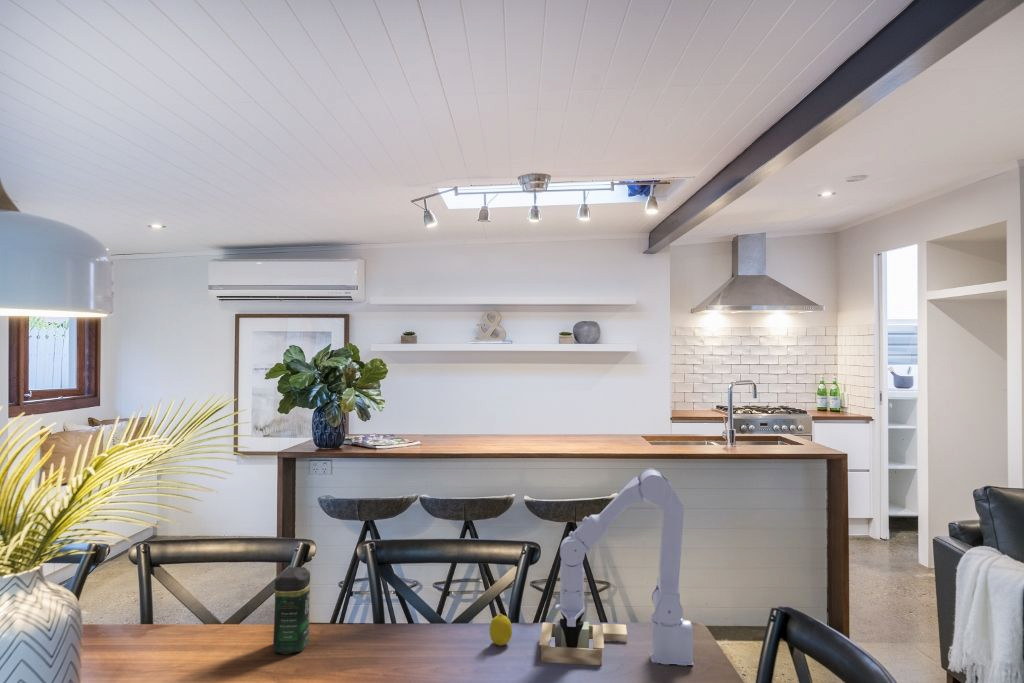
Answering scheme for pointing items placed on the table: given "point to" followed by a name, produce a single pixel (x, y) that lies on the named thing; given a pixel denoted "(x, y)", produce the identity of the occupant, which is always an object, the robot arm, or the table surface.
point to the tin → (582, 640)
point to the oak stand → (614, 632)
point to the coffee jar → (291, 610)
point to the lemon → (500, 630)
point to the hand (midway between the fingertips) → (572, 644)
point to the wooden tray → (569, 653)
